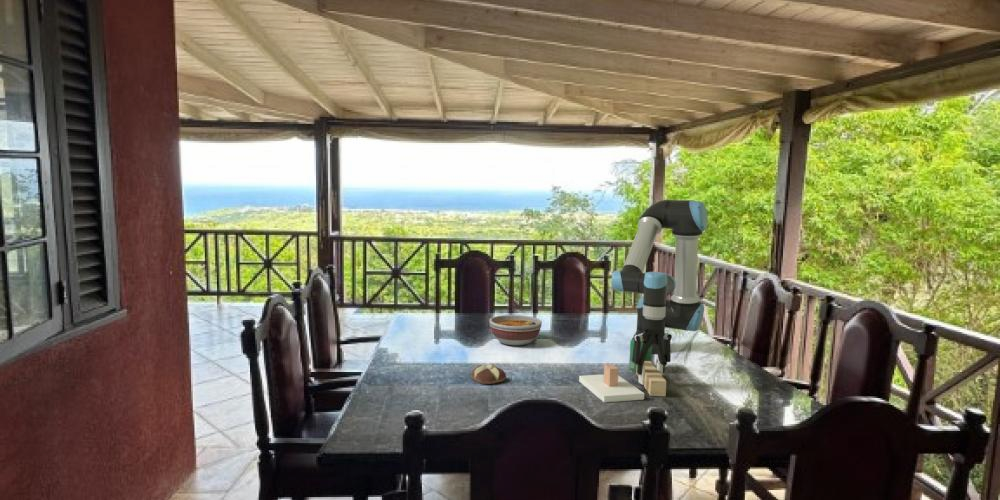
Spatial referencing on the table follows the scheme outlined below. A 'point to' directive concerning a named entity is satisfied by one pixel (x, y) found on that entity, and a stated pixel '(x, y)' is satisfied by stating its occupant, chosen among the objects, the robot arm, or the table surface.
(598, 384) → the fulcrum
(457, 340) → the table surface
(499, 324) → the bowl
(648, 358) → the beverage can
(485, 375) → the bread
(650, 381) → the oak bar
